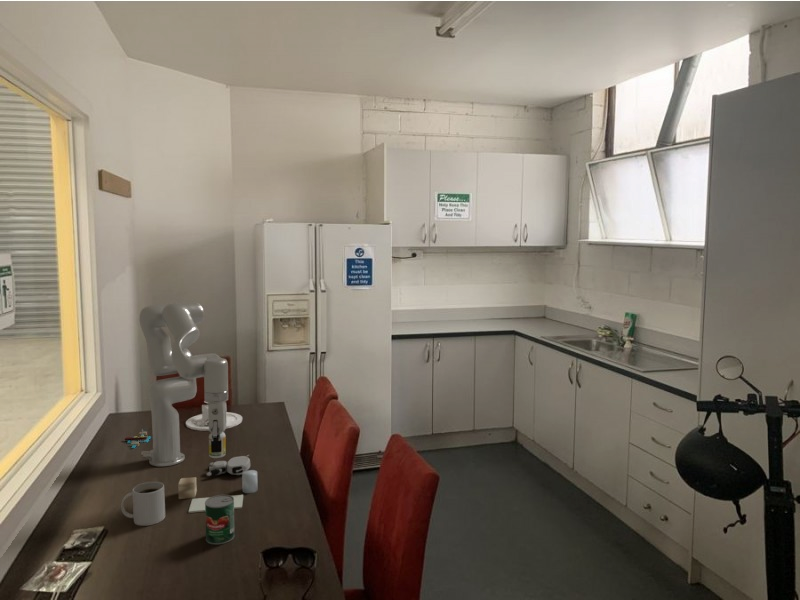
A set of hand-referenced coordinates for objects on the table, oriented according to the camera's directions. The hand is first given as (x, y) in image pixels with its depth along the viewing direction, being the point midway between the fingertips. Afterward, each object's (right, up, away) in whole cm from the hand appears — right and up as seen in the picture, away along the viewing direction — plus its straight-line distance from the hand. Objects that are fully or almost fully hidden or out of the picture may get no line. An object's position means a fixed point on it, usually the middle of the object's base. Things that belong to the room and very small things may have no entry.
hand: (217, 447), depth 196 cm
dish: (-25, -8, +76) cm, 81 cm away
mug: (-16, -17, -17) cm, 29 cm away
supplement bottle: (0, -3, 0) cm, 3 cm away
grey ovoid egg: (+10, -15, +3) cm, 18 cm away
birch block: (-9, -15, -1) cm, 18 cm away
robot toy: (-1, -14, +18) cm, 23 cm away
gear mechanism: (-49, -10, +51) cm, 71 cm away
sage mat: (+2, -16, -8) cm, 18 cm away
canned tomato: (+10, -19, -28) cm, 35 cm away
